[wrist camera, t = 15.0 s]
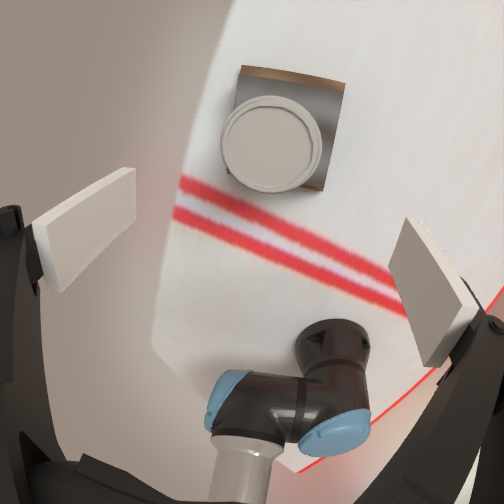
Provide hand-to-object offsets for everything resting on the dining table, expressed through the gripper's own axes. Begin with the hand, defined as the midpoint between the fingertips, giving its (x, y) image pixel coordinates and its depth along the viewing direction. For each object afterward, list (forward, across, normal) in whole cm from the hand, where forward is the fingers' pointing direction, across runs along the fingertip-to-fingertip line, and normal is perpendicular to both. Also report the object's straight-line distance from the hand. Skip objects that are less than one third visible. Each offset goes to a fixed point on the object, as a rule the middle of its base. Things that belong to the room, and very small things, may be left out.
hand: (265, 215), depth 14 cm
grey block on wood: (+32, +1, 0) cm, 32 cm away
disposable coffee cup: (+27, +1, 0) cm, 27 cm away
